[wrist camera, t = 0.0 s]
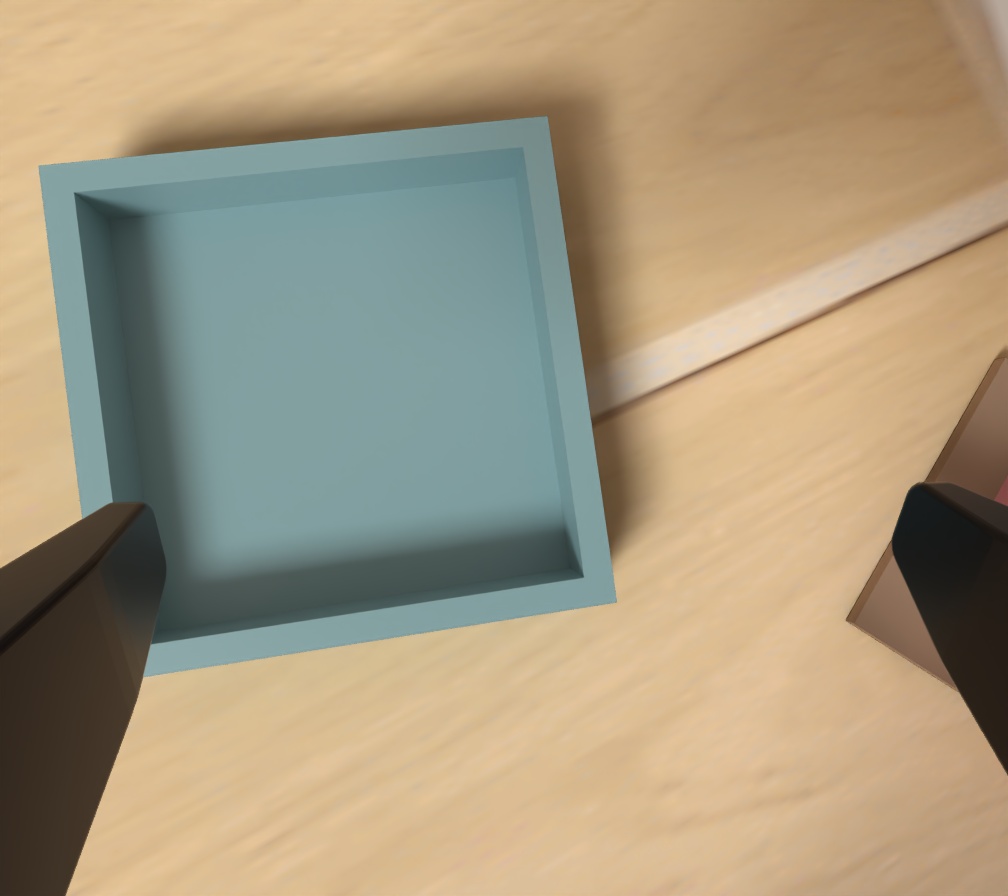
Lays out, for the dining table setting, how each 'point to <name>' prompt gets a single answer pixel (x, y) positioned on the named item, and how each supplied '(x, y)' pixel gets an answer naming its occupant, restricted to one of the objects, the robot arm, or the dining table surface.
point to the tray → (333, 384)
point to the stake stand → (967, 463)
